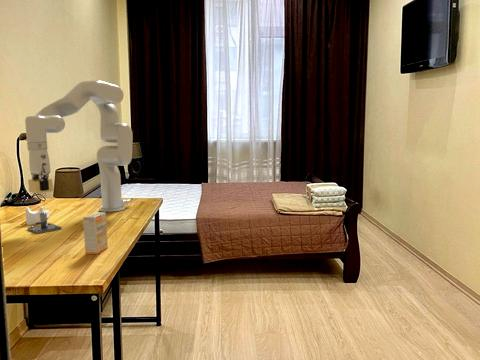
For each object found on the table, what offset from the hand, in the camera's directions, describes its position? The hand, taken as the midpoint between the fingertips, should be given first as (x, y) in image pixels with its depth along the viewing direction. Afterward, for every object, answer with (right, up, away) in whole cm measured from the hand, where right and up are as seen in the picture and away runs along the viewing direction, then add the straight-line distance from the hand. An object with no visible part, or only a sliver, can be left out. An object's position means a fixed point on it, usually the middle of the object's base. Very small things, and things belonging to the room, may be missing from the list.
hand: (40, 189), depth 200 cm
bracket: (-9, -15, +19) cm, 26 cm away
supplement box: (+32, -21, -31) cm, 49 cm away
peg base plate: (0, -17, +3) cm, 17 cm away
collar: (0, -1, 0) cm, 1 cm away
